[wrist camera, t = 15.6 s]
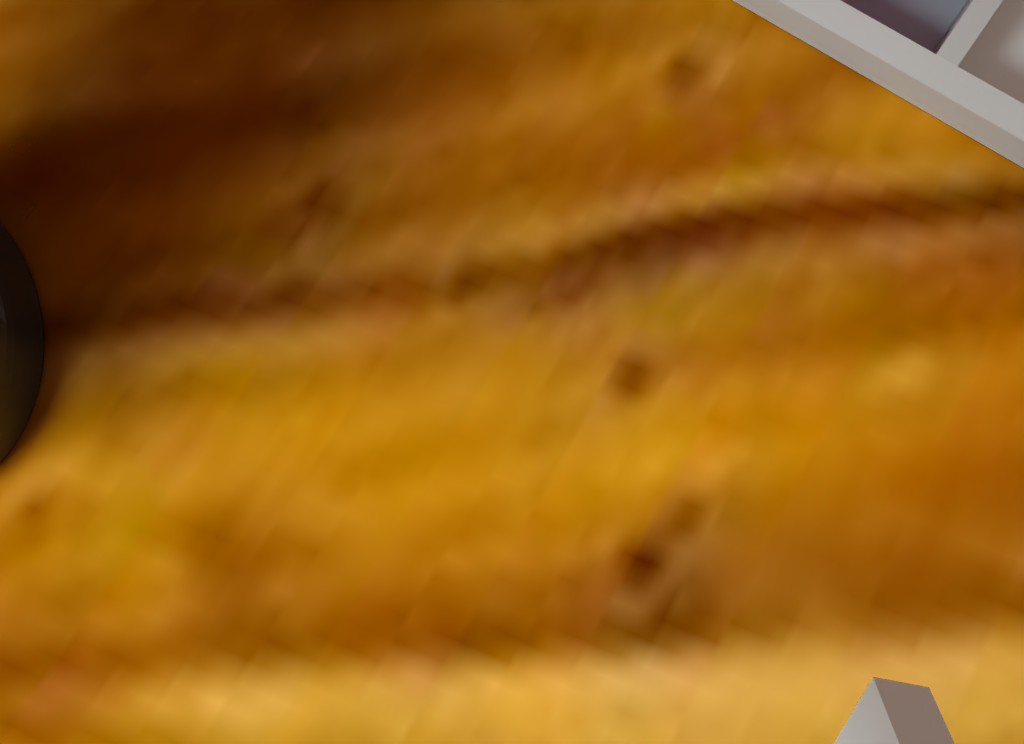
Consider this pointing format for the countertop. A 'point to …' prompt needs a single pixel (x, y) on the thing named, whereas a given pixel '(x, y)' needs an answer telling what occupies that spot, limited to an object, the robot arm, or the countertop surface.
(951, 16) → the walled tray
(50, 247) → the countertop surface
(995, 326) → the countertop surface
